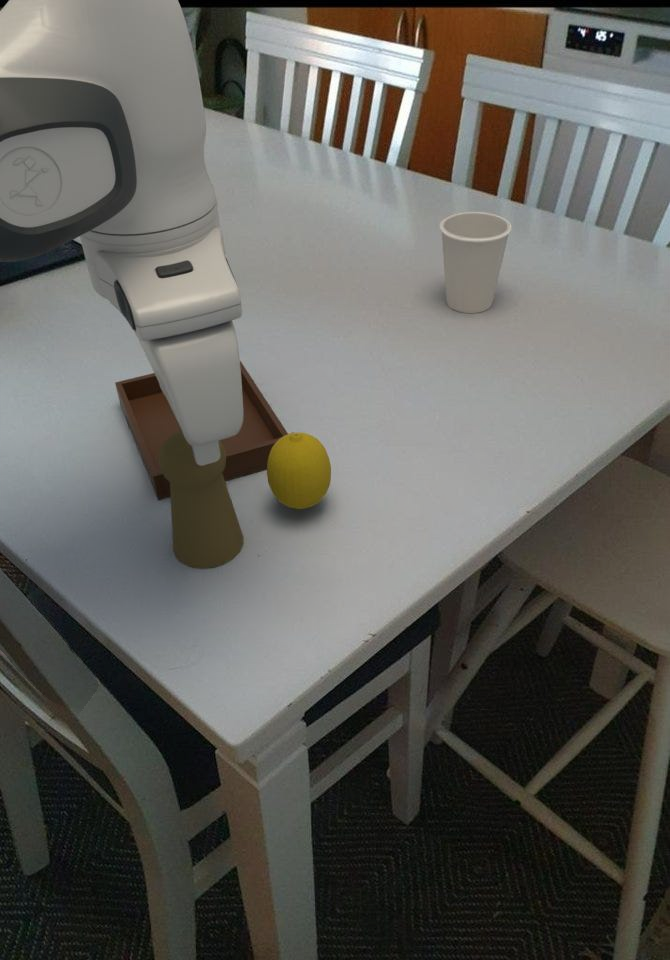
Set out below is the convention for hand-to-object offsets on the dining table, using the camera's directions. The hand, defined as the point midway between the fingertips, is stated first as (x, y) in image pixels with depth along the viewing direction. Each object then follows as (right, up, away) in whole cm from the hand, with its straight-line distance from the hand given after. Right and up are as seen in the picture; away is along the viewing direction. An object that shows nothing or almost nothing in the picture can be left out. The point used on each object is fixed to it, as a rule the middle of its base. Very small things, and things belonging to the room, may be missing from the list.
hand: (189, 423), depth 61 cm
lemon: (+8, -7, +11) cm, 15 cm away
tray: (-2, +1, +20) cm, 21 cm away
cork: (0, -10, +8) cm, 13 cm away
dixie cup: (+28, +18, +40) cm, 52 cm away
